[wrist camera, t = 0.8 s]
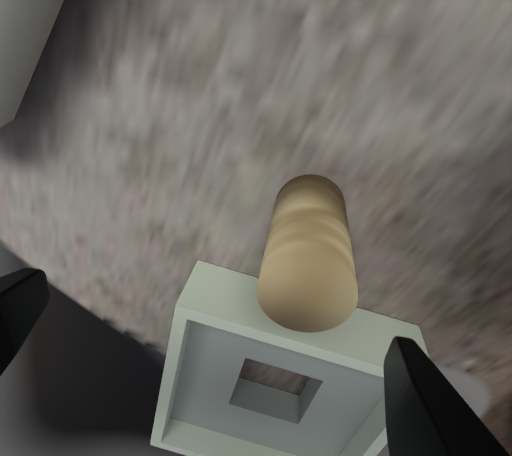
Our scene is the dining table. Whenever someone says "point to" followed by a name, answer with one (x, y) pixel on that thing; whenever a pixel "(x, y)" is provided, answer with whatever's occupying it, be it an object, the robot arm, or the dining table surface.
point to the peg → (308, 258)
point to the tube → (21, 47)
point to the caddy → (261, 396)
